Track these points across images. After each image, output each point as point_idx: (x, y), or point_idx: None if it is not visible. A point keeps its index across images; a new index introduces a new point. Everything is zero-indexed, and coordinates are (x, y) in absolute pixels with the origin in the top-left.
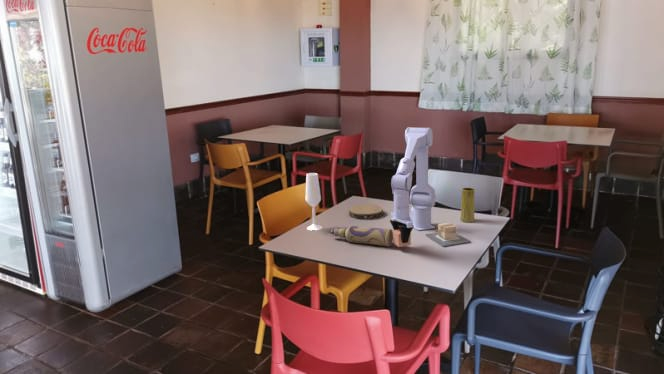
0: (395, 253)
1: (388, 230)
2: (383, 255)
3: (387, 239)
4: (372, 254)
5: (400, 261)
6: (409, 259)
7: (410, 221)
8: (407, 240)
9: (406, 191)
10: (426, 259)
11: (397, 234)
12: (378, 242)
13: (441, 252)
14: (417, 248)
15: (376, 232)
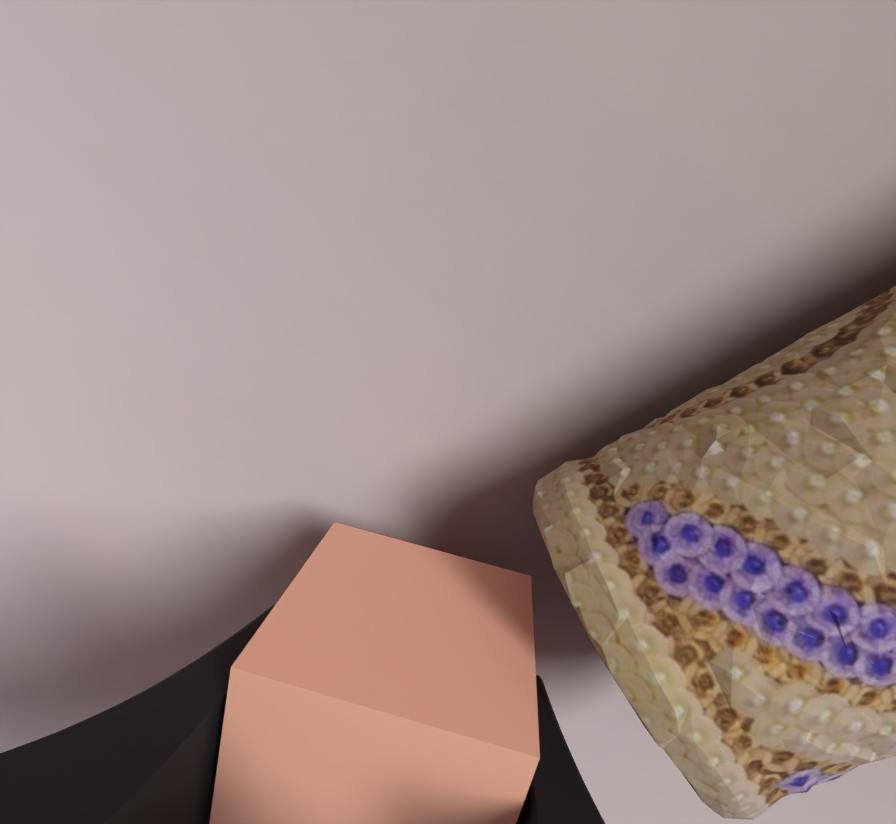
0: (328, 421)
1: (668, 714)
2: (358, 238)
3: (541, 514)
4: (490, 113)
5: (71, 295)
6: (80, 426)
7: None
8: None
9: None
10: (7, 565)
11: (291, 666)
12: (690, 400)
13: None
14: None
15: (881, 482)
